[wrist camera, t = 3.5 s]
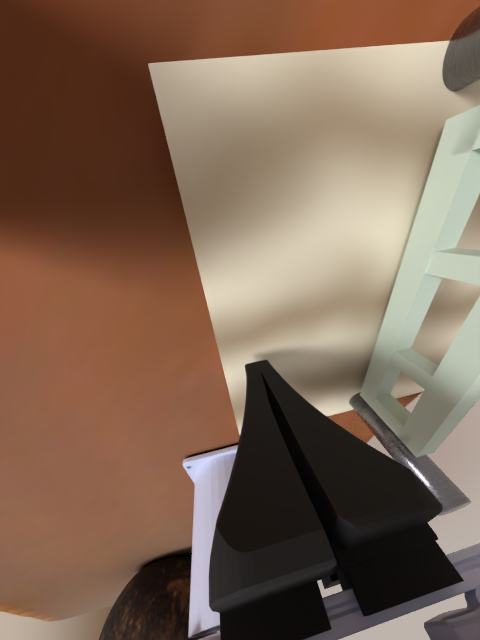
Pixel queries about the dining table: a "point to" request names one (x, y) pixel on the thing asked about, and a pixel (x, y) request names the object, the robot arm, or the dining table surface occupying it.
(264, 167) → the board
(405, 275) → the gate
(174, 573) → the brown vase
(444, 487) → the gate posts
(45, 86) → the dining table surface
